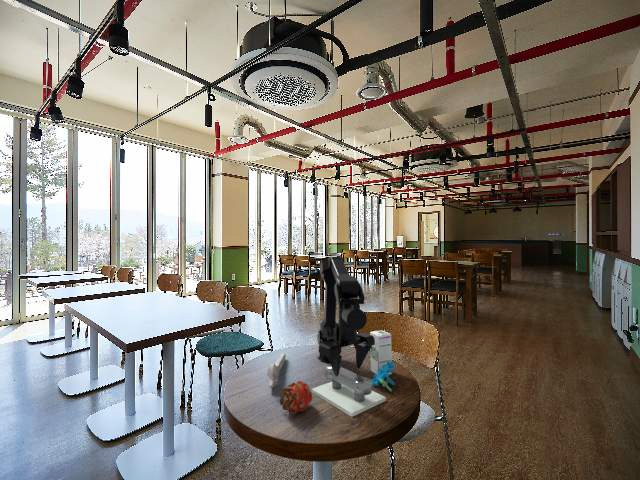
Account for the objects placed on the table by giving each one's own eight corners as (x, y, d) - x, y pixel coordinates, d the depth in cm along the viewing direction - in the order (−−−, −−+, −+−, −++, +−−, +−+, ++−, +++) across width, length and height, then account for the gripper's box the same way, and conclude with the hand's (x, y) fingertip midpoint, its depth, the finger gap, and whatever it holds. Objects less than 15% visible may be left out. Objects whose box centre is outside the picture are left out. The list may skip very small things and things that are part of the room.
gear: (372, 371, 112) (392, 354, 109) (384, 384, 111) (405, 367, 108) (367, 390, 101) (390, 372, 98) (381, 404, 101) (404, 386, 98)
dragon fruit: (285, 428, 83) (299, 411, 95) (311, 411, 82) (322, 396, 94) (269, 398, 86) (285, 385, 97) (294, 381, 85) (307, 370, 96)
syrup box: (392, 374, 113) (392, 333, 113) (378, 377, 111) (378, 335, 111) (382, 368, 119) (382, 329, 119) (369, 371, 116) (369, 331, 116)
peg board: (344, 379, 109) (344, 368, 109) (385, 400, 95) (385, 387, 95) (311, 392, 100) (311, 379, 100) (351, 416, 86) (351, 402, 86)
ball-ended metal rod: (334, 371, 106) (334, 362, 106) (375, 391, 92) (375, 381, 92) (322, 375, 103) (322, 366, 103) (363, 397, 89) (363, 386, 89)
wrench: (285, 367, 128) (272, 394, 98) (281, 367, 128) (266, 394, 98) (285, 346, 129) (272, 366, 99) (281, 346, 129) (267, 366, 99)
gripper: (351, 312, 110) (351, 357, 110) (307, 320, 98) (307, 371, 98) (375, 318, 101) (375, 367, 101) (331, 328, 89) (331, 384, 89)
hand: (347, 372), depth 97 cm, fingers open, 9 cm apart
